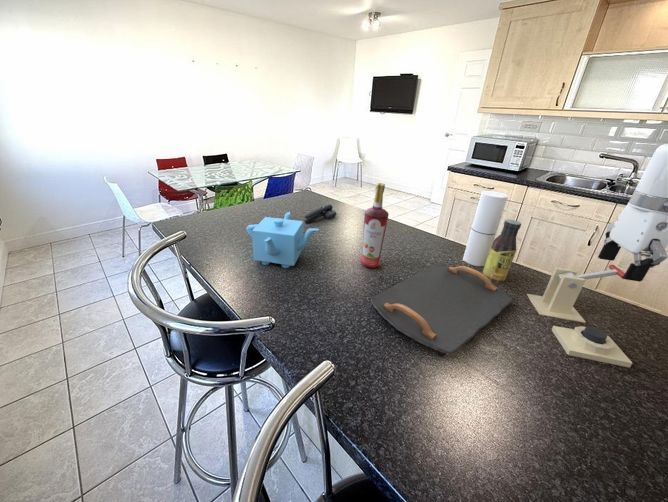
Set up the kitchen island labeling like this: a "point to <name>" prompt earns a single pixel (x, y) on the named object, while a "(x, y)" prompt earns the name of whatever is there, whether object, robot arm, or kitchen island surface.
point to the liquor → (374, 230)
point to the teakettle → (278, 240)
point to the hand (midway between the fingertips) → (617, 268)
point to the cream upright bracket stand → (560, 296)
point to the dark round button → (594, 335)
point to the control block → (590, 347)
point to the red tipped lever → (597, 273)
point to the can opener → (320, 213)
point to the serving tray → (442, 306)
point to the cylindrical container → (484, 227)
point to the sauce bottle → (502, 252)
